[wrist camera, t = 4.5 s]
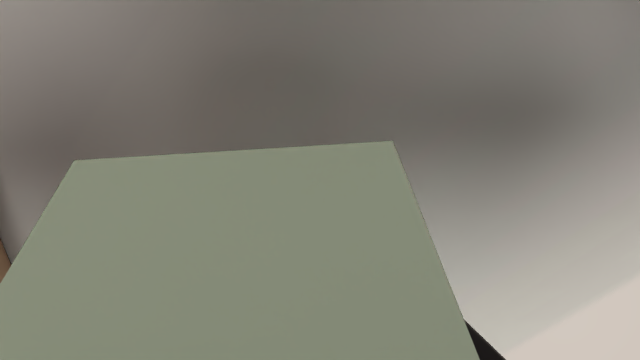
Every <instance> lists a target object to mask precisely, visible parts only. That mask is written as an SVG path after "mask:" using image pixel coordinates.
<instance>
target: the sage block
mask: <svg viewBox="0 0 640 360" xmlns="http://www.w3.org/2000/svg"><path fill="white" fill-rule="evenodd" d="M0 360H480V359H479V357H478V354H477V351H476V349H475V346H474V344H473V341H472V339H471V336H470V334H469V331H468V329H467V326H466V324H465V321H464V319H463V316H462V314H461V311H460V309H459V306H458V304H457V301H456V299H455V296H454V294H453V291H452V289H451V286H450V284H449V281H448V279H447V276H446V274H445V271H444V269H443V266H442V263H441V261H440V258H439V256H438V253H437V251H436V248H435V246H434V243H433V241H432V238H431V236H430V233H429V231H428V228H427V226H426V223H425V221H424V218H423V216H422V213H421V211H420V208H419V206H418V203H417V201H416V198H415V196H414V193H413V191H412V188H411V186H410V183H409V181H408V178H407V176H406V173H405V170H404V168H403V165H402V163H401V160H400V158H399V155H398V153H397V150H396V148H395V145H394V143H393V141H381V142H364V143H348V144H332V145H315V146H299V147H283V148H266V149H250V150H234V151H217V152H201V153H185V154H168V155H152V156H136V157H120V158H103V159H87V160H74V161H73V163H72V165H71V166H70V168H69V170H68V171H67V173H66V175H65V176H64V178H63V180H62V181H61V183H60V185H59V186H58V188H57V190H56V191H55V193H54V195H53V196H52V198H51V200H50V201H49V203H48V205H47V206H46V208H45V210H44V212H43V213H42V215H41V217H40V218H39V220H38V222H37V223H36V225H35V227H34V228H33V230H32V232H31V233H30V235H29V237H28V238H27V240H26V242H25V243H24V245H23V247H22V248H21V250H20V252H19V253H18V255H17V257H16V258H15V260H14V262H13V263H12V265H11V267H10V268H9V270H8V272H7V273H6V275H5V277H4V278H3V280H2V282H1V283H0Z"/></svg>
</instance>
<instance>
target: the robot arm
mask: <svg viewBox="0 0 640 360" xmlns="http://www.w3.org/2000/svg"><path fill="white" fill-rule="evenodd" d="M464 321H465V320H464ZM465 324H466V326H467V329H468V331H469V334H470V336H471V339H472V341H473V344H474V346H475V349H476V351H477V354H478V357H479V359H480V360H506V359H505V358H504V357H503V356H501V355H500V354H499V353H498V352H497V351H496V350H495V349H494V348H493V347H492V346H491V345H490V344H489V343H488V342H487V341H486V340H485V339H484V338H483V337H482V336H481V335H480V334H479V333H478V332H476V331H475V330H474V329H473V328H472V327H471V326H470V325H469V324H468V323H467V322H466V321H465Z"/></svg>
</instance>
